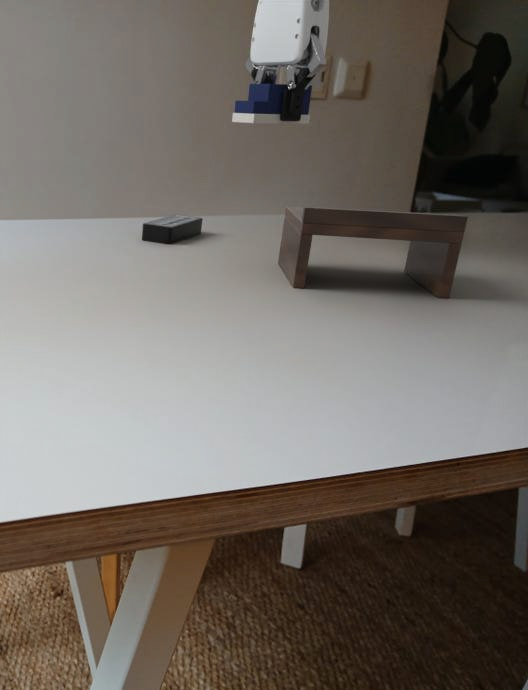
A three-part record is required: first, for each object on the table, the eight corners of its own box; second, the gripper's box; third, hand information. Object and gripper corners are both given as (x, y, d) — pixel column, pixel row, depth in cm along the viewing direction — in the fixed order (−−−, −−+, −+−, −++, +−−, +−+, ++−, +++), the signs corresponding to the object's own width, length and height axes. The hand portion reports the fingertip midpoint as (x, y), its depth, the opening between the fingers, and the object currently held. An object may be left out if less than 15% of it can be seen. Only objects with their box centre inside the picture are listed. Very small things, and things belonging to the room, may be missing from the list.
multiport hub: (140, 239, 103) (141, 223, 102) (174, 229, 111) (176, 214, 110) (169, 244, 100) (171, 227, 99) (201, 233, 109) (203, 217, 108)
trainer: (286, 122, 106) (291, 85, 105) (309, 123, 103) (314, 85, 101) (231, 121, 102) (235, 83, 100) (253, 123, 98) (257, 83, 97)
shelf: (414, 272, 89) (429, 200, 86) (449, 298, 78) (468, 216, 75) (277, 263, 91) (287, 192, 88) (292, 287, 80) (305, 207, 77)
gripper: (367, -33, 91) (343, 123, 97) (271, -17, 105) (256, 118, 111) (322, -39, 88) (300, 122, 94) (229, -22, 102) (216, 117, 108)
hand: (276, 118), depth 102 cm, fingers closed on trainer, 4 cm apart
